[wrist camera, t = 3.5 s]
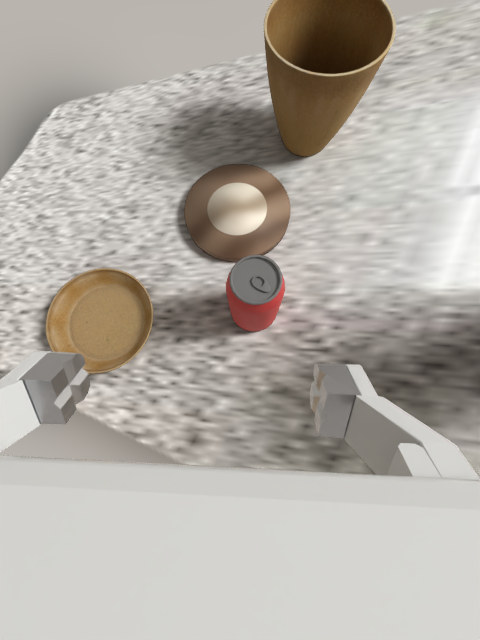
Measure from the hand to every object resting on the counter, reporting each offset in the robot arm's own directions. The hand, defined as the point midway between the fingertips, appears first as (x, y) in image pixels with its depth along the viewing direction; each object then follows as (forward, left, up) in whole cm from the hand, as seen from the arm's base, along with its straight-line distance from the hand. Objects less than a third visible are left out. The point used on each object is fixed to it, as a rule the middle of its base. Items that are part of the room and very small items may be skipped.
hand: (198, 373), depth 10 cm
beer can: (+7, -8, -30) cm, 32 cm away
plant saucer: (+18, +10, -31) cm, 37 cm away
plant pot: (+26, -32, -30) cm, 52 cm away
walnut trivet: (+21, -15, -30) cm, 40 cm away
